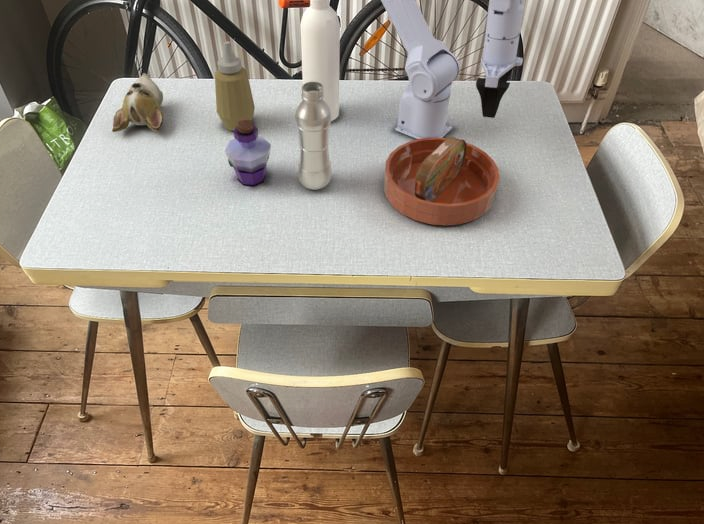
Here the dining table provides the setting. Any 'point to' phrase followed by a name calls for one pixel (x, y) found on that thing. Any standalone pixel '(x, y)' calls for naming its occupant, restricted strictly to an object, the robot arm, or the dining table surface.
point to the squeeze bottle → (232, 90)
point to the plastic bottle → (313, 137)
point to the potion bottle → (248, 154)
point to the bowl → (456, 200)
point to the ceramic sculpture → (140, 106)
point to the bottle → (322, 50)
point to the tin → (440, 169)
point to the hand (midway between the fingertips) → (492, 106)
